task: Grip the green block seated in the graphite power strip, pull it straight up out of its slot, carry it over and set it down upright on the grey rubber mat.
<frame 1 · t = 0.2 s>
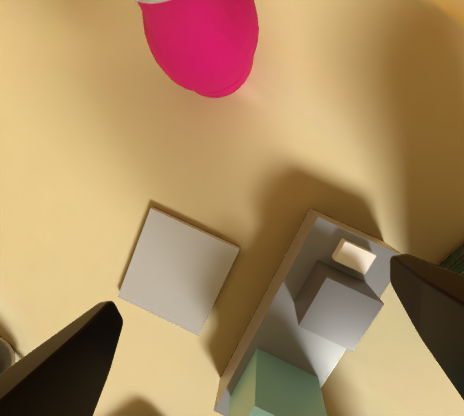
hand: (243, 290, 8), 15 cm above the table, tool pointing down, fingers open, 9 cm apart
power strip: (294, 316, 24), on the table
green block: (272, 370, 24), point 2 cm above the table, touching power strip
ceramic mug: (3, 364, 31), on the table
mat: (177, 271, 25), on the table
pepper mill: (216, 59, 21), on the table
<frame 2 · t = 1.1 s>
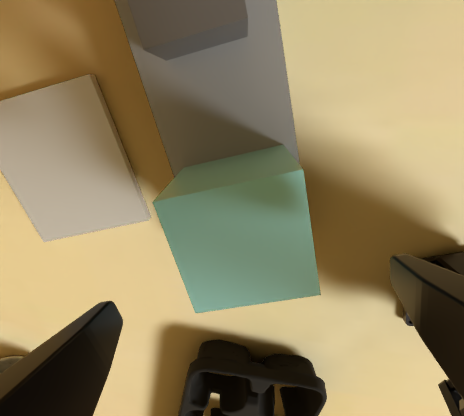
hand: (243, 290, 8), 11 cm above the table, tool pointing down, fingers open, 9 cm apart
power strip: (226, 111, 16), on the table
green block: (243, 192, 17), point 2 cm above the table, touching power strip
mat: (68, 167, 18), on the table
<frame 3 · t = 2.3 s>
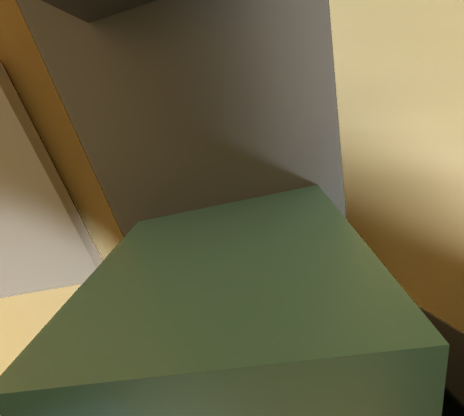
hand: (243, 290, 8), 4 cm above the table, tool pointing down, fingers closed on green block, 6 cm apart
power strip: (217, 120, 10), on the table
green block: (244, 249, 10), point 2 cm above the table, touching gripper, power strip
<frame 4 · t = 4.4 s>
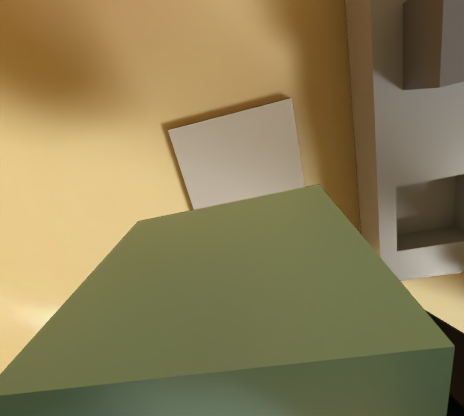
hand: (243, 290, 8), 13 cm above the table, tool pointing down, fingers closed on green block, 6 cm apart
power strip: (406, 130, 18), on the table
green block: (244, 249, 10), point 11 cm above the table, touching gripper
mat: (243, 179, 20), on the table
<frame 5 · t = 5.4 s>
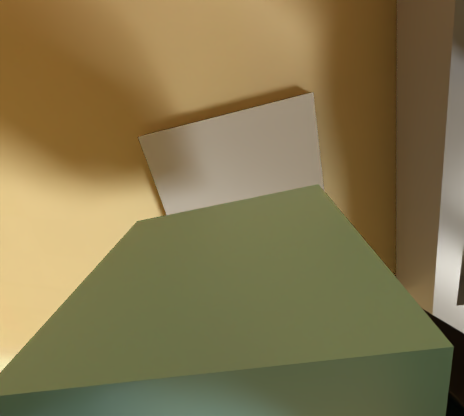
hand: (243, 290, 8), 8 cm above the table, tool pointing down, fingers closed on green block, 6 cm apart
green block: (244, 249, 10), point 5 cm above the table, touching gripper
mat: (243, 202, 15), on the table
when the fingers open (4 cm above the table, at t = 6.4 s): green block drops 1 cm, resting on mat.
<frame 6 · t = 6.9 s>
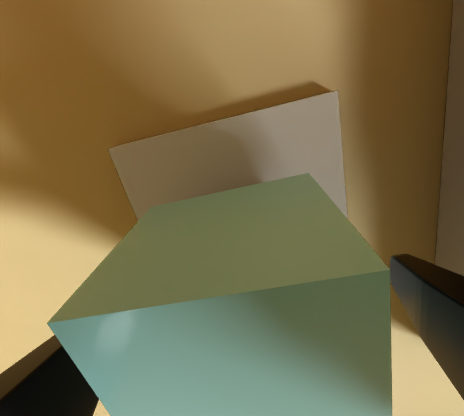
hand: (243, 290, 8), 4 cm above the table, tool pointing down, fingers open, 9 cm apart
green block: (244, 235, 11), point 1 cm above the table, touching mat
mat: (244, 229, 12), on the table
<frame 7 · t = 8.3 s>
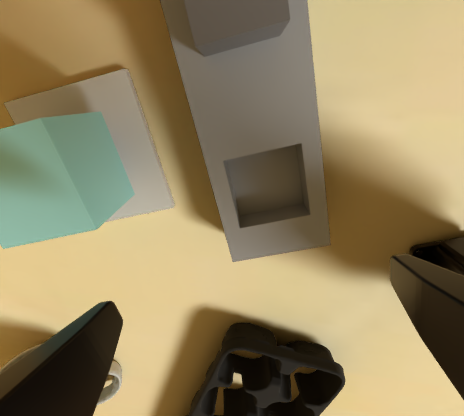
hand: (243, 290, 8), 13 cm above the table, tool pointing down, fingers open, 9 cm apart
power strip: (250, 105, 18), on the table
green block: (94, 158, 19), point 1 cm above the table, touching mat
ceramic mug: (78, 362, 30), on the table
mat: (98, 157, 19), on the table
egg carton: (238, 403, 32), on the table
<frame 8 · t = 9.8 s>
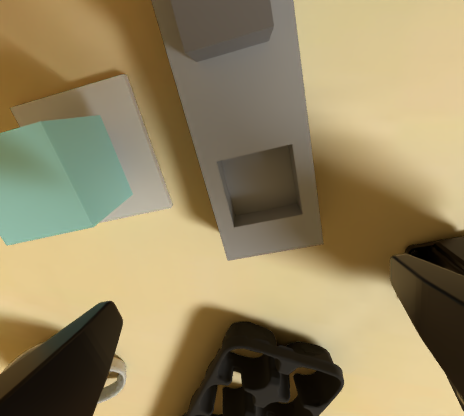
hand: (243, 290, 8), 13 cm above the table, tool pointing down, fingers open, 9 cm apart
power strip: (244, 107, 18), on the table
green block: (95, 160, 20), point 1 cm above the table, touching mat
ceramic mug: (84, 359, 30), on the table
mat: (99, 159, 20), on the table
egg carton: (237, 402, 32), on the table
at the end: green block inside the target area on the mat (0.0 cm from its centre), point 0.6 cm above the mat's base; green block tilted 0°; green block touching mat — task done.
